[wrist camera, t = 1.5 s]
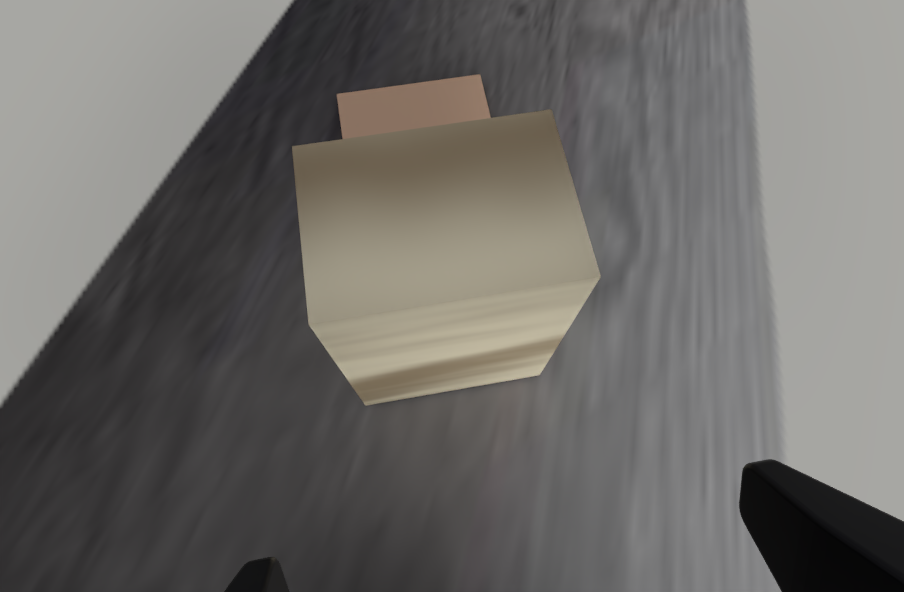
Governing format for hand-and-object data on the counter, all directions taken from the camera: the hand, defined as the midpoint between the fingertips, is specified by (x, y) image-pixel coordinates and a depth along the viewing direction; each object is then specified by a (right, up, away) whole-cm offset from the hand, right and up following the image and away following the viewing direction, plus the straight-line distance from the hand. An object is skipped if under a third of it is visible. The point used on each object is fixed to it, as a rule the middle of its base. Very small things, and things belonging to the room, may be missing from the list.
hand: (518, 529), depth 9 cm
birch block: (-1, +2, +15) cm, 16 cm away
